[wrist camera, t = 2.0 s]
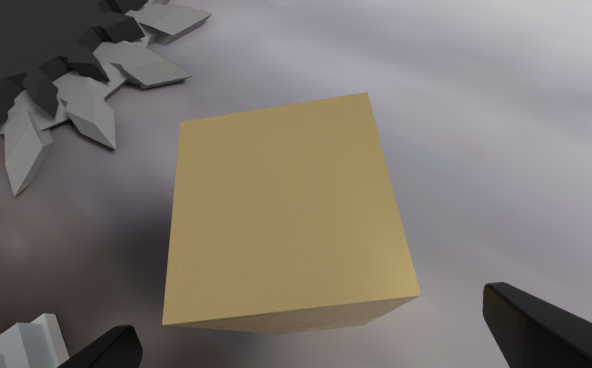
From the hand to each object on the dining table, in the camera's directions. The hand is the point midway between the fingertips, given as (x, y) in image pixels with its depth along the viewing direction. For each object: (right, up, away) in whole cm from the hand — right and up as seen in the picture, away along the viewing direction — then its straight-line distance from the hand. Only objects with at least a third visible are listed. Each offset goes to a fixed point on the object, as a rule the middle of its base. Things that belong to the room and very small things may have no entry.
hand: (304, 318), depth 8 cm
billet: (+1, -2, +10) cm, 10 cm away
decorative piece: (-22, +15, +22) cm, 35 cm away
